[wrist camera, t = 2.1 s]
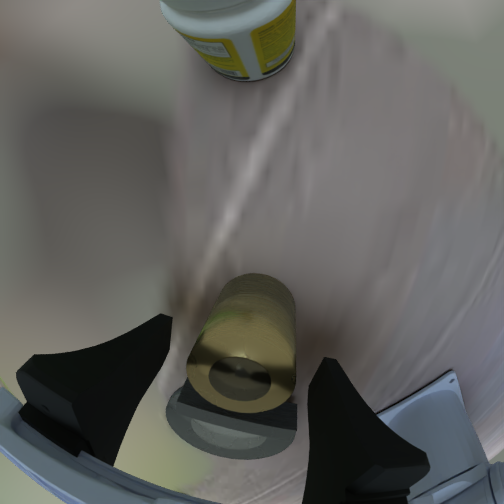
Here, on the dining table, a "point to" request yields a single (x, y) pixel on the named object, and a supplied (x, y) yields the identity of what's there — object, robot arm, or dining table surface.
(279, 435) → the flange seat
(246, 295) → the cylinder
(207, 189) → the dining table surface
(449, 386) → the robot arm
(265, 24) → the supplement bottle
